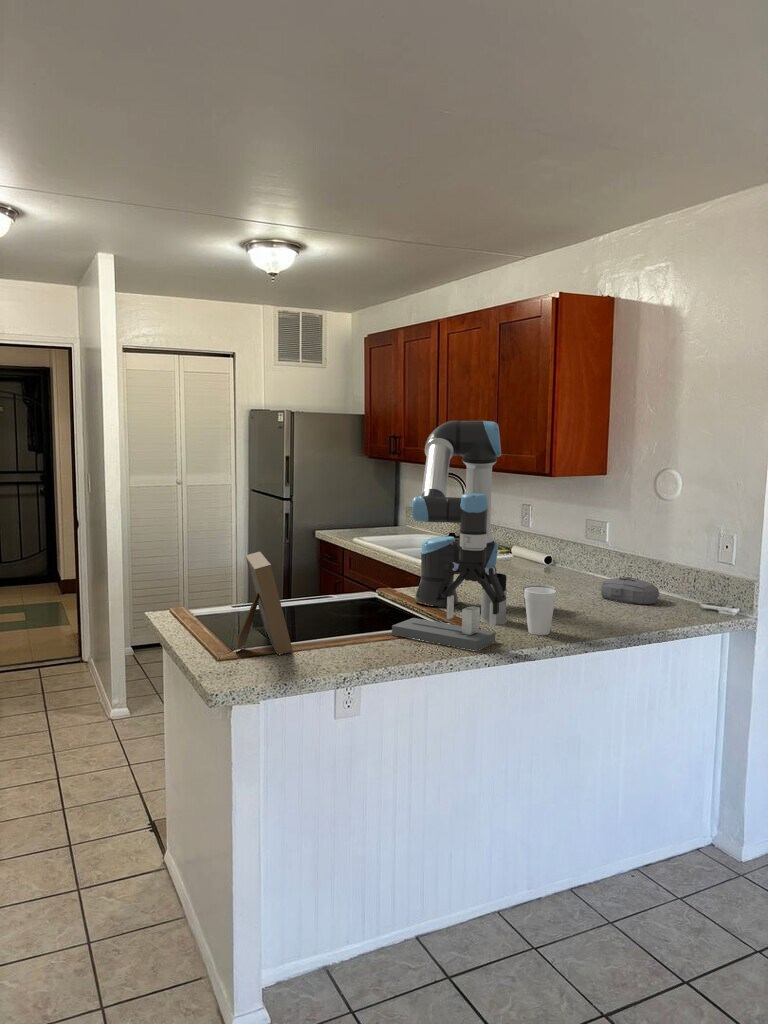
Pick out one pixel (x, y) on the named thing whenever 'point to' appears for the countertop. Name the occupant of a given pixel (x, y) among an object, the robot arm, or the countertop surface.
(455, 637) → the fader console
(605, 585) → the soft grey pack
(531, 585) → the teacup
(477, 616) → the fader knob
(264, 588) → the photo frame
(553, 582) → the countertop surface
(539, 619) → the foam cup
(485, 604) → the glass holder
